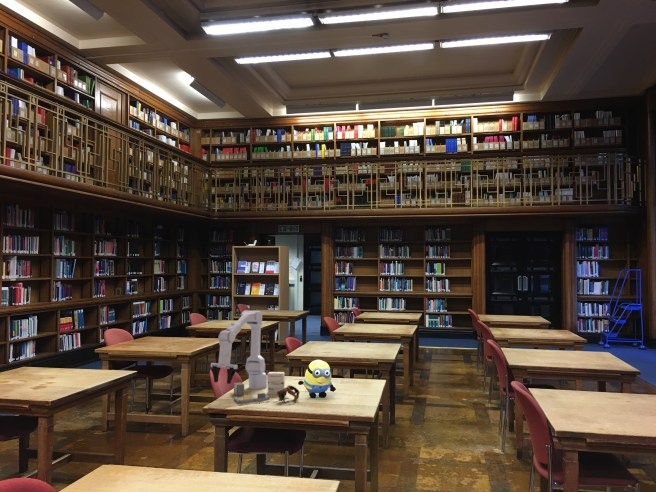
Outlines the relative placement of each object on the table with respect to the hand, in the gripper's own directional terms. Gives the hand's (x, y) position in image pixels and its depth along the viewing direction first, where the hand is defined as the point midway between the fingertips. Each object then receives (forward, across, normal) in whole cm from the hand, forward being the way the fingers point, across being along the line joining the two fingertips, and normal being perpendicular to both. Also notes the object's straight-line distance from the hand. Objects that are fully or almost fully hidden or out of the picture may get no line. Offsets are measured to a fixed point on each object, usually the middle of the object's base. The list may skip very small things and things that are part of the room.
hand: (222, 383), depth 247 cm
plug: (+7, 0, +17) cm, 18 cm away
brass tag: (+7, +11, +6) cm, 15 cm away
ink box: (+6, +16, +27) cm, 32 cm away
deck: (+8, 0, +17) cm, 19 cm away
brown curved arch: (+8, +27, +20) cm, 34 cm away
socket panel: (+9, +11, +11) cm, 18 cm away
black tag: (+6, +16, +12) cm, 21 cm away
